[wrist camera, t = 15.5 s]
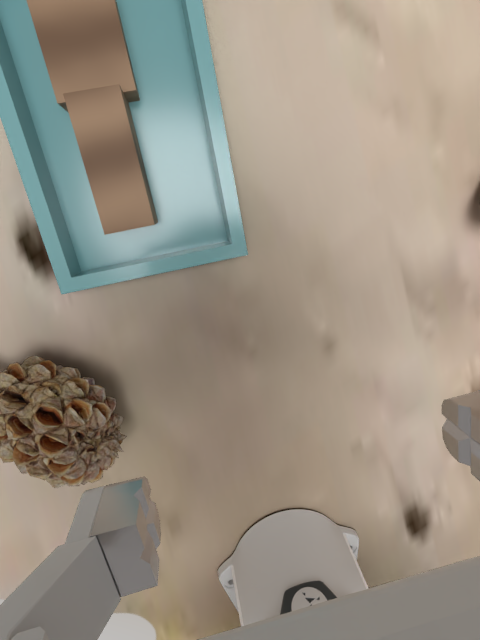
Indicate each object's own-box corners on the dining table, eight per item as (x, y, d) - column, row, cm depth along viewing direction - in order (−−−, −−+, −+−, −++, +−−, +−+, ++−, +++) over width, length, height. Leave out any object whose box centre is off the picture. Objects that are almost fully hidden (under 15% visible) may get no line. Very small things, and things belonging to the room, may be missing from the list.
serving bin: (241, 250, 37) (247, 254, 34) (74, 285, 36) (61, 294, 32) (184, -55, 30) (185, -94, 26) (-30, -26, 28) (-62, -62, 25)
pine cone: (152, 389, 40) (143, 444, 31) (105, 456, 42) (82, 529, 32) (-61, 273, 34) (-154, 298, 25) (-108, 357, 35) (-212, 411, 26)
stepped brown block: (168, 220, 35) (166, 222, 30) (104, 233, 34) (91, 237, 30) (116, 1, 30) (104, -38, 25) (39, 13, 29) (11, -25, 25)
